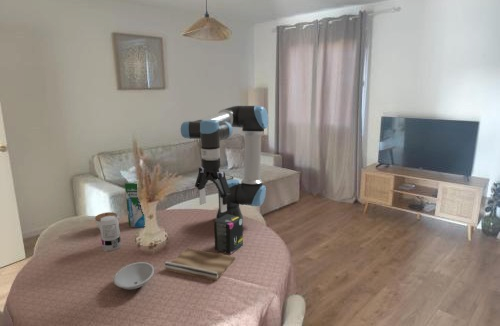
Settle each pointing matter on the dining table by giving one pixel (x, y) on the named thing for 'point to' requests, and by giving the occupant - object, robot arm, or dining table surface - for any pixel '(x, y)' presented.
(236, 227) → the tampon box
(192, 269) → the shelf board
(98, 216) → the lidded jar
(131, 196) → the milk carton
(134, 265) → the dish
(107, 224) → the supplement can
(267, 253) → the dining table surface
